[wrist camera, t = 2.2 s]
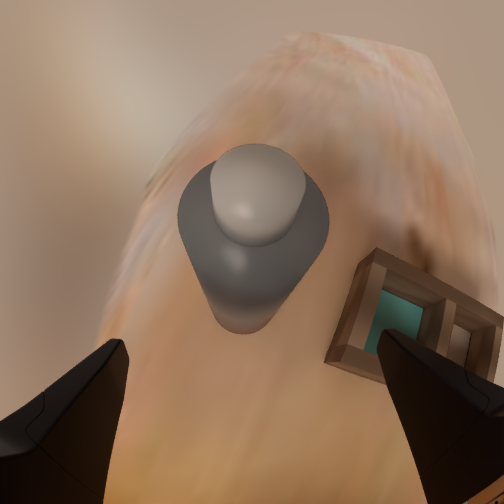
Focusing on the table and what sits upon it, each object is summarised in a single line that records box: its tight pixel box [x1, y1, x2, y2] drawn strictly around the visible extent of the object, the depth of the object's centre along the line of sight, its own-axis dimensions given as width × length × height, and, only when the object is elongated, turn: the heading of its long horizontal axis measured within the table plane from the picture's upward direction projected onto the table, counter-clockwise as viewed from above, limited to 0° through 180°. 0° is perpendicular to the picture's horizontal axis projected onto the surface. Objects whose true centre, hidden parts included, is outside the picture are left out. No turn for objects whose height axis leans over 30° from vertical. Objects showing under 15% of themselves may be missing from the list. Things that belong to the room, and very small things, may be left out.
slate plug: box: [177, 144, 329, 334], centre depth 14 cm, size 5×5×15 cm
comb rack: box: [324, 247, 504, 385], centre depth 18 cm, size 8×16×4 cm, turn 66°
